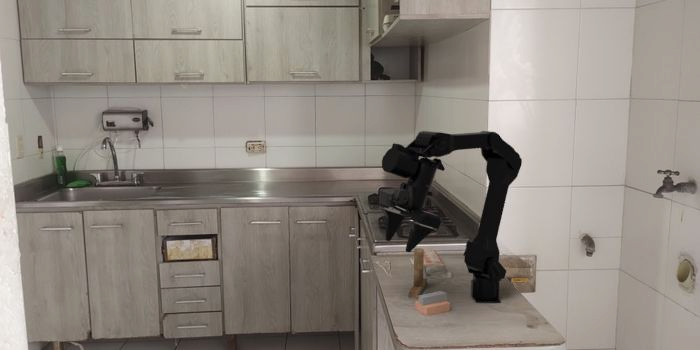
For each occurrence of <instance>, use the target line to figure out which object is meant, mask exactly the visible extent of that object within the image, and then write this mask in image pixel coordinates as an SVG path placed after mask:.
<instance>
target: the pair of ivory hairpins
mask: <svg viewBox="0 0 700 350" xmlns="http://www.w3.org/2000/svg"><path fill="white" fill-rule="evenodd" d="M387 263H388V264H387ZM385 264H387V268H388V271H390V272H387V271H386V269H385V268H384V266H383V265H382V264H381V263H380V261H375V265H377V266H378V267H379V268H381V270H382V271H384V272H385V274H386V275H387V276H388V277H389V278H390V277H391V278H393V276H392V274H391V273H392V272H391V266H390V264H391V261H387V260H386V261H385Z"/></svg>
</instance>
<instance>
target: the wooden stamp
mask: <svg viewBox="0 0 700 350" xmlns="http://www.w3.org/2000/svg"><path fill="white" fill-rule="evenodd" d="M424 250H425V249H424V248H418V247H417V248H416V247H415V248H414V249H413V259H414V267H413V285H412V286H411V288H410V289H409V291H408V295H407V296H408V297H407V298H410V299H411V298H412V299H416V300H417V299H418V300H419V295H422V293H423V292H424V290H425V289H426V287H427V286H428V284H429V283H428V280H429V279H423V266H424Z"/></svg>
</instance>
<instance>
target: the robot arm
mask: <svg viewBox="0 0 700 350" xmlns="http://www.w3.org/2000/svg"><path fill="white" fill-rule="evenodd" d="M473 149H480V152H481V153H480V154H481V156H482V157H483V159H484V160H485V161H486V169H485V171H486V175H487V178H488V186H487V191H486V194H485V200H484V204H483V208H482V212H481V216H480V220H479V221H480V222H479V226H478V230H477V233H476V236H475V237H474V238H473V240H467V241H466V245H465V250H464V253H463V256H464V260H463V261H464V264H465V266H466V268H467V270H468V274H472V275H473V276H472V279H471V280H470V295H471V297H472V298H473V300H474V302H476V303H501V299H500V282H501V281H502V280H504V279H505V278H506V274H507V269H506V268H505V267H504V266H503V265H502V264H501V263H500V249H499V245H498V241H497V239H498V233H499V230H500V225H501V222H502V221H501V220H502V217H503V212H504V209H505V204H506V200H507V195H508V191H509V187H510V186H511V184H512V183H513V182H514V181H515V180H516V179H517V177H518V175H519V173H520V171H521V170H520V169H521V167H522V165H523V164H522V162H523V159H522V157H521V156H520V154H519V152H517V151H516V150H515V147H513V146H512V145H510V144H509V143H508V142H507V141H505V140H504V139H503V138H502V137H501V135H500V134H499V133H497V132H496V131H489V130H482V131H480V132H476V131H475V132H465V133H445V132H441V131H429V130H422V131H420V132H418V134H417V135H416V137H415V139H414V140H412V141H411V142H410V143H409V144H408V145H407V146H406V147H405V146H404V145H402V144H399V143H392V146H391V148H389V149H388V150H387V151H386V152H385V154H384V155H383V157H382V158H381V159H382V160H381V167H382V170H383V171H384V172H385V173H388V174H391V175H395V176H397V177H400V178H403V179H406V182H401V183H400V185H399V188H397V187H396V188H395V187H394V188H393V187H392V188H383V189H382V188H381V189H379V202H378V206H380V210H381V211H382V212H383V214H384V216H385V241H387V242H391V240H392V239H393V237H394V236H395V234H396V232H397V230H398V229H400V228H399V227H400V226H401V224H402V223H403V221H404V219H405V218H406V215H408V216H409V217H410V220H408V225H409V227H410V231H409V235H408V237H407V242H406V245H405V246H406V247H405V252H406V253H411V252H412V251H414V249H416V247H417V246H418V245H419V244H420V242H422V241H423V240H425V238H426V237H428V236H429V234H431V233H432V232H436V230H440V228H441V225H442V218H441V216H440V215H437V214H434V213H432V212H430V211H427V210H428V209H427V208H425V205H426V202H427V199H428V196H429V197H432V196H433V191H430V190H431V188H432V184H433V181H434V179H435V176H436V173H437V170H439V171H442V172H443V171H446V170H445V166H444V165H443V163H442V159H439V158H441V157H445V156H447V155H450V154H451V153H453V152H456V151H460V150H473ZM432 157H434V158H433V159H430V158H432ZM404 214H405V215H404Z"/></svg>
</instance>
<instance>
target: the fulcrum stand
mask: <svg viewBox="0 0 700 350" xmlns="http://www.w3.org/2000/svg"><path fill="white" fill-rule="evenodd" d="M414 310H415V311H418V312H419V313H421V314H422V315H425V316H426V317H427V316H432V315H437V314H442V313H445V312H450V311H451V303H450V302H449V301H447V292H444V291H442V290H440V291H435V292H429V293H424V294H420V295H419V297H418V300H415V301H414Z"/></svg>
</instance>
